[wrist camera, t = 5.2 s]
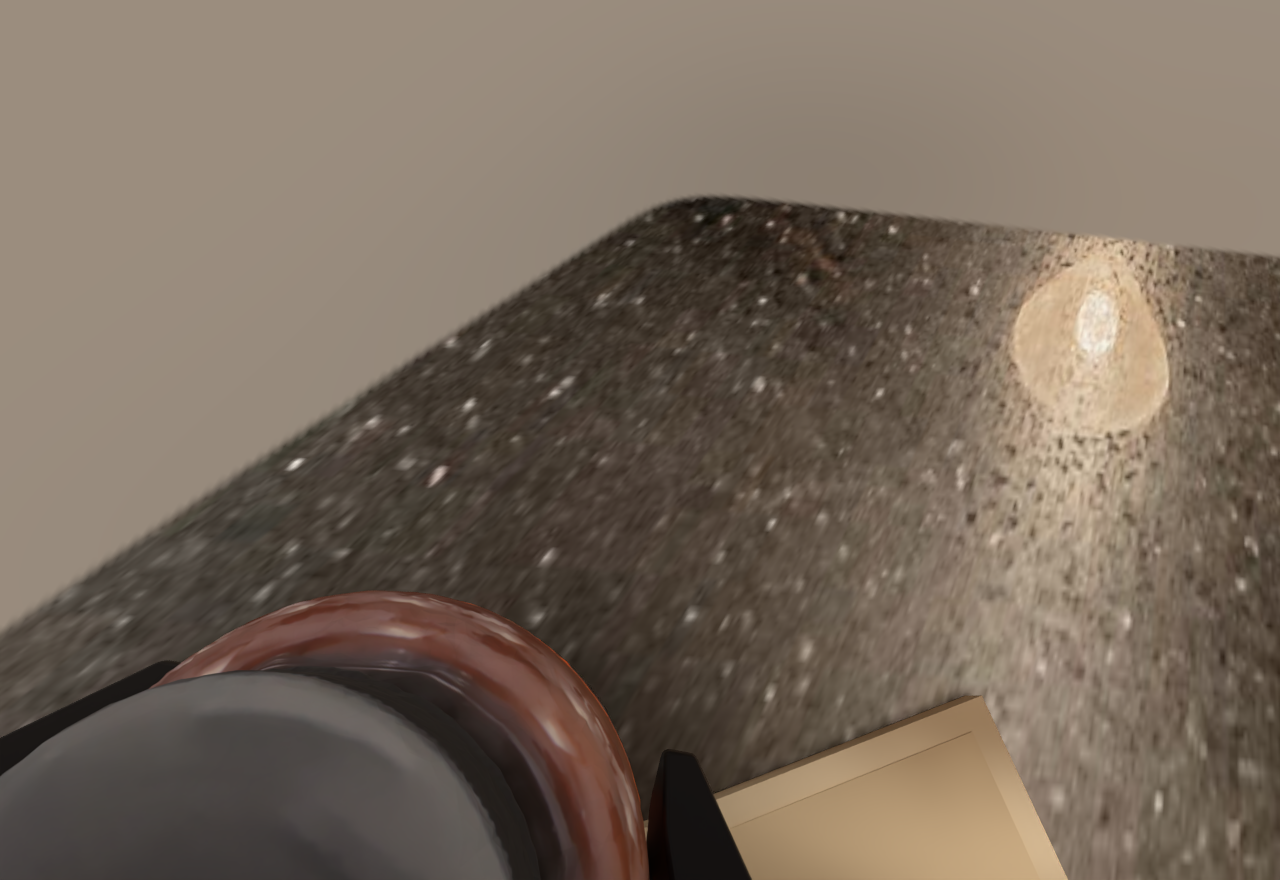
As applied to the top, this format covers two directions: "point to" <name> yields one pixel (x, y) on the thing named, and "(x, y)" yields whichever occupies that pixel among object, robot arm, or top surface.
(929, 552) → the top surface
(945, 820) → the coaster
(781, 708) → the top surface
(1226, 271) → the top surface
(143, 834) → the supplement bottle
